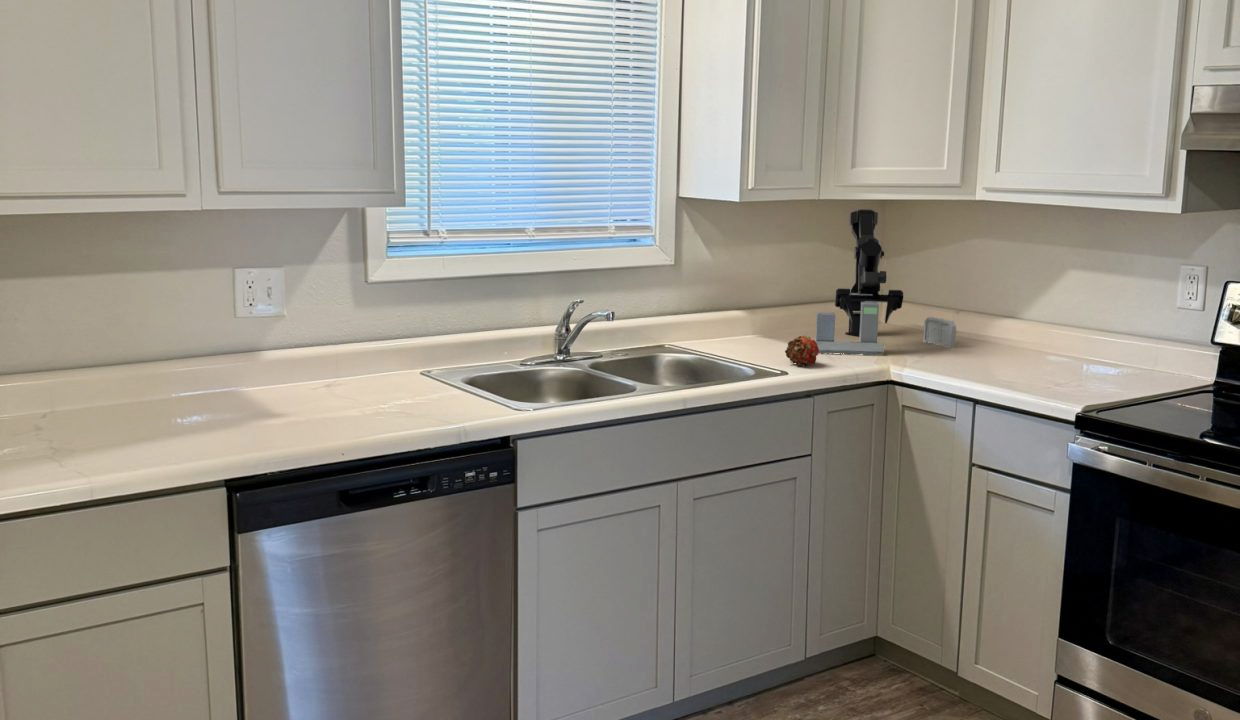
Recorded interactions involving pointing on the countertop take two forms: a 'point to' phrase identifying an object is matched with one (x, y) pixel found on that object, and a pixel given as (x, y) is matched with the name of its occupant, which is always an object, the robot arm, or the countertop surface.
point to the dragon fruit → (802, 350)
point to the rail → (827, 344)
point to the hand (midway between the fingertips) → (869, 322)
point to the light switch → (939, 332)
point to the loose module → (869, 322)
